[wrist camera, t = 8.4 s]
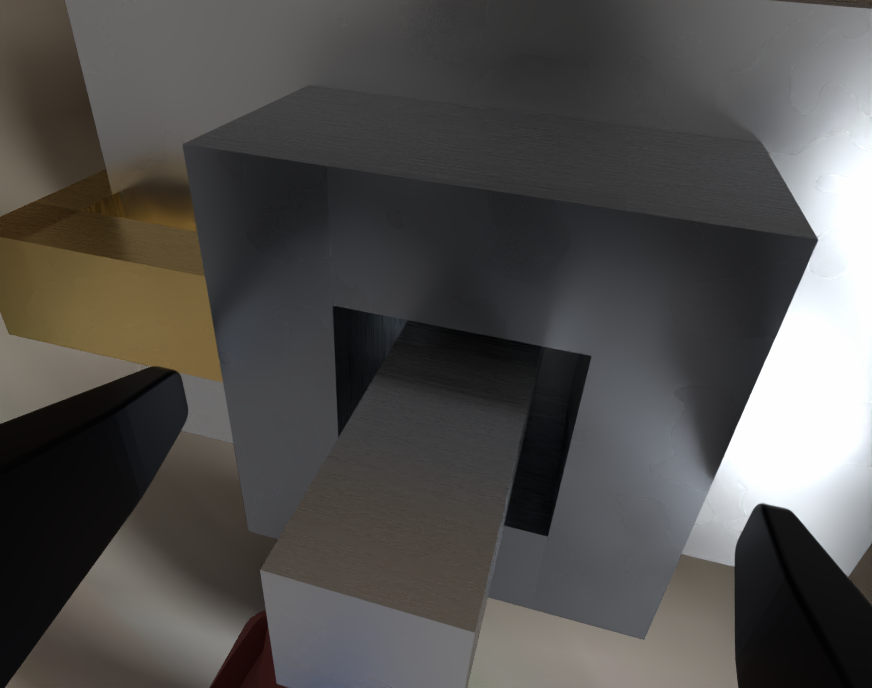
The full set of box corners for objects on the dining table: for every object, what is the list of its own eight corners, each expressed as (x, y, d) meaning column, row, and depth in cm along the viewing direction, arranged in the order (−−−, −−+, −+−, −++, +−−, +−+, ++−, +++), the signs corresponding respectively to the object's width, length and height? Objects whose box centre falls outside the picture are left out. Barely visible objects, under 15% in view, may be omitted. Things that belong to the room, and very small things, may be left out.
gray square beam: (560, 265, 12) (474, 632, 6) (542, 355, 14) (454, 742, 7) (452, 244, 13) (260, 569, 6) (444, 335, 14) (276, 684, 7)
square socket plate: (1169, 29, 9) (1604, 109, 5) (827, 558, 16) (892, 774, 12) (45, -66, 12) (-238, -64, 8) (160, 399, 19) (33, 524, 15)
